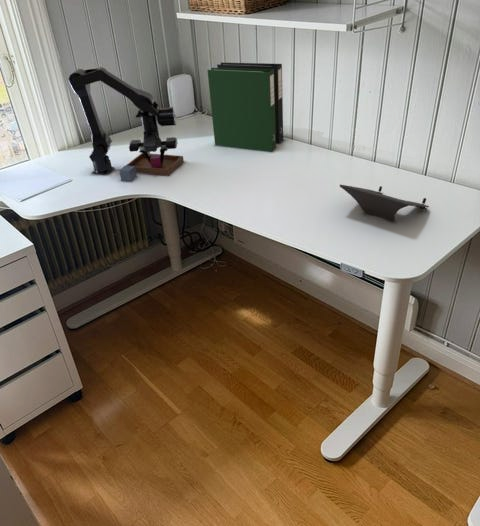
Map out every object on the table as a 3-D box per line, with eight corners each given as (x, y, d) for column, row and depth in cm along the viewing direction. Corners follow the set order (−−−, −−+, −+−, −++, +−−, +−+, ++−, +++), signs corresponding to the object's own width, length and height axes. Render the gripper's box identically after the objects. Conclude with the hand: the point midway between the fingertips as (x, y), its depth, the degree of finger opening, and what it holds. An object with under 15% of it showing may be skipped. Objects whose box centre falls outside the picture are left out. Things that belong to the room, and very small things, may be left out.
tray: (126, 172, 198) (124, 166, 196) (143, 158, 208) (141, 152, 207) (168, 175, 192) (167, 169, 190) (183, 161, 202) (182, 155, 201)
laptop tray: (427, 228, 157) (436, 201, 155) (401, 228, 139) (411, 197, 137) (364, 209, 170) (371, 183, 168) (332, 206, 153) (341, 177, 150)
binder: (214, 146, 214) (206, 70, 196) (228, 134, 225) (222, 61, 207) (271, 151, 204) (269, 72, 186) (283, 139, 215) (282, 63, 197)
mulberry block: (151, 167, 198) (149, 158, 195) (153, 163, 201) (151, 154, 199) (161, 167, 197) (159, 157, 195) (162, 163, 201) (161, 154, 198)
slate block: (121, 180, 191) (119, 170, 188) (127, 175, 194) (125, 165, 192) (131, 181, 190) (129, 170, 187) (137, 176, 193) (134, 166, 190)
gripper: (122, 136, 184) (130, 174, 193) (171, 132, 183) (177, 170, 192) (128, 126, 193) (135, 162, 202) (174, 122, 192) (180, 159, 201)
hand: (156, 164), depth 199 cm, fingers closed on mulberry block, 4 cm apart
